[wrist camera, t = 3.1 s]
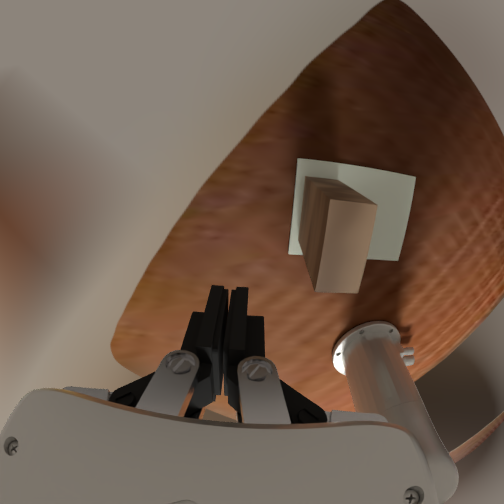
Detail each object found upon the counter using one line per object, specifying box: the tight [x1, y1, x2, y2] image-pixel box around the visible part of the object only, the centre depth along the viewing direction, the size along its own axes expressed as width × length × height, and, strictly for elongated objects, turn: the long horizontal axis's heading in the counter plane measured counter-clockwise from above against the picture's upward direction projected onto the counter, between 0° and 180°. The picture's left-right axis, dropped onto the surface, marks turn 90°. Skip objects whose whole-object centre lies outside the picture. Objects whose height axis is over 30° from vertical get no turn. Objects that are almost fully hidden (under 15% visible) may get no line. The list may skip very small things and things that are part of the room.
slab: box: [298, 176, 378, 293], centre depth 26 cm, size 4×8×12 cm, turn 177°
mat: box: [288, 158, 416, 261], centre depth 32 cm, size 16×12×1 cm
